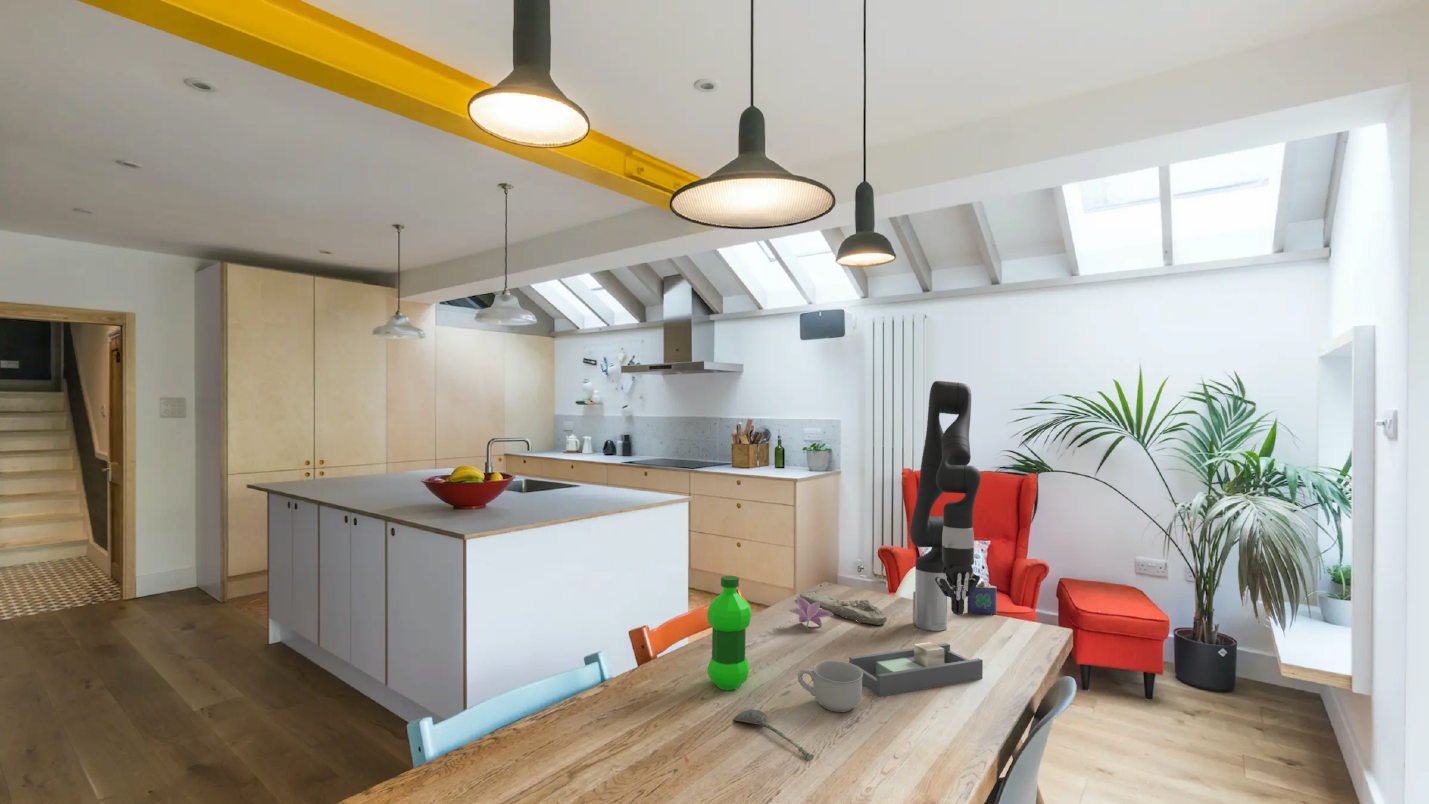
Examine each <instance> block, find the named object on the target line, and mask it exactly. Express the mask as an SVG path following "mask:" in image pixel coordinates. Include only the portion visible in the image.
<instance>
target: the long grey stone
mask: <svg viewBox="0 0 1429 804" xmlns="http://www.w3.org/2000/svg"><path fill="white" fill-rule="evenodd" d="M804 592H805V591H803V592H801V593H800V594H799V596H798V597H801V598H803V599H804V600H806V601H807V602H809V604H810V605H811V604H813V603H815V602H820V608H822V609H824V610H827V611H829V612H831V613H835V614H834V615H837V614H838V615H837V616H841V617H842V618H843V617H847V618H849V619H848V620H852V619H853V620H852V621H854V620H857V621H858V622H857V621H856V622H857V623H859V622H863V623H864V624H867V625H870V624H871V625H877V626H880V625H884V624H885V623H886V622H887V619H888V618H887V616H886V615H885V612H883V611H882V610H881V609H880V608H878V607H877V606H874V605H872V604H871V601H869V600H868V599H860V600H857V599H856V600H848V601H847V600H843V599H839V598H835V597H832V596H828V595H826V594H825V595H824V594H821V593H818V592H817V591H815V592H814V591H806V593H805V594H803V593H804ZM847 618H846V619H847Z"/></svg>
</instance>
